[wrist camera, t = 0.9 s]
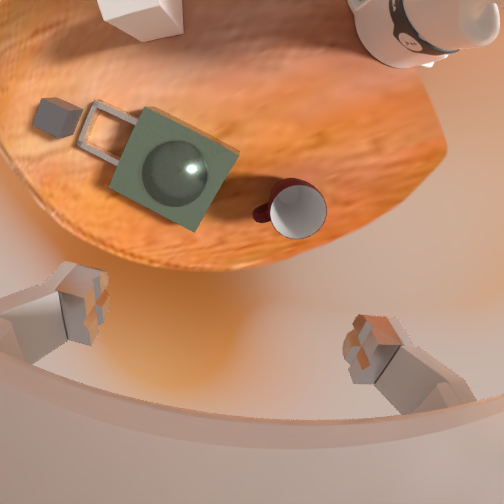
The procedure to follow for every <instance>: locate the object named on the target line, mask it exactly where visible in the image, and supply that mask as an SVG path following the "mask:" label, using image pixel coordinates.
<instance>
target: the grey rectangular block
mask: <svg viewBox="0 0 504 504" xmlns="http://www.w3.org/2000/svg"><path fill="white" fill-rule="evenodd" d="M82 111H83V109H81V108H79V107H77V106H75V105H72V104H70V103H68V102H66V101H63V100H61V99H59V98H41V101H40V104H39V107H38V109H37V112H36V115H35V118H34V121H33V126H35V127H37V128H39V129H41V130H43V131H45V132H47V133H49V134H51V135H53V136H55V137H57V138H62V137H66V136H70V135H73V134H74V131H75V128H76V126H77V123H78V121H79V118H80V116H81V113H82Z"/></svg>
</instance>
